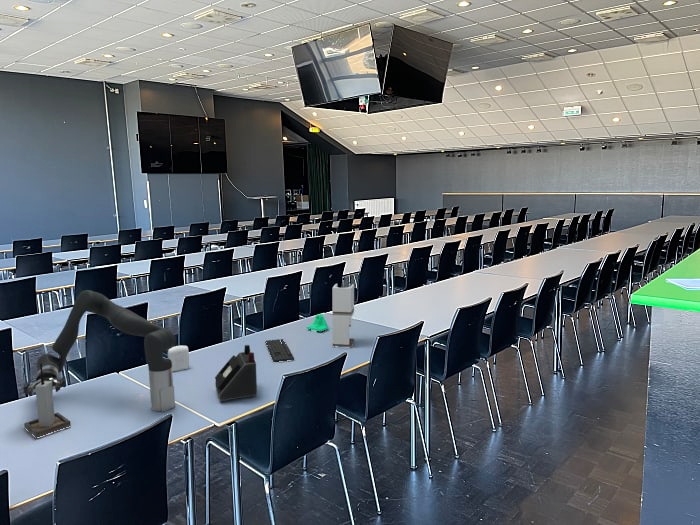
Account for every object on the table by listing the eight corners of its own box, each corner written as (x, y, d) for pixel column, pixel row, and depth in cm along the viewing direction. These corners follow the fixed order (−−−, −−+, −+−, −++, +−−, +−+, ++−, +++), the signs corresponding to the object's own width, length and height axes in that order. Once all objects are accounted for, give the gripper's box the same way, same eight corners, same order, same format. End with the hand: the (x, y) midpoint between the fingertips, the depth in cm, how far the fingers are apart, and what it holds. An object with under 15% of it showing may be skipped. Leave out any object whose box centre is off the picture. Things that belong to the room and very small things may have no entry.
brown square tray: (70, 427, 195) (70, 421, 195) (36, 439, 186) (35, 433, 186) (58, 418, 203) (57, 412, 203) (24, 429, 194) (24, 423, 193)
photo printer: (188, 366, 260) (186, 343, 258) (190, 368, 256) (189, 345, 254) (167, 370, 254) (166, 346, 252) (169, 373, 251) (168, 349, 249)
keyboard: (294, 361, 267) (294, 358, 267) (273, 364, 264) (273, 360, 264) (284, 341, 301) (283, 338, 301) (265, 343, 298) (264, 340, 297)
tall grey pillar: (351, 348, 287) (350, 288, 281) (332, 347, 289) (332, 287, 283) (354, 342, 298) (353, 284, 293) (336, 341, 300) (336, 283, 294)
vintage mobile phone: (56, 421, 197) (50, 360, 193) (49, 427, 192) (43, 365, 188) (46, 421, 197) (40, 360, 193) (39, 427, 192) (32, 365, 188)
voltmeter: (215, 389, 231) (213, 347, 227) (250, 384, 236) (249, 343, 233) (219, 404, 216) (217, 359, 213) (257, 398, 222) (255, 354, 218)
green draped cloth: (306, 330, 322) (306, 315, 320) (313, 327, 328) (313, 312, 326) (320, 333, 315) (320, 317, 313) (328, 330, 321) (328, 315, 320)
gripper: (26, 371, 202) (20, 385, 187) (66, 365, 208) (64, 379, 194) (27, 388, 203) (22, 404, 189) (68, 382, 209) (65, 397, 195)
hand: (43, 391), depth 191 cm, fingers open, 8 cm apart
